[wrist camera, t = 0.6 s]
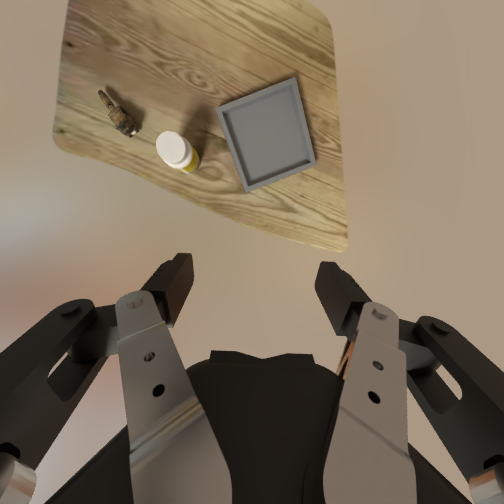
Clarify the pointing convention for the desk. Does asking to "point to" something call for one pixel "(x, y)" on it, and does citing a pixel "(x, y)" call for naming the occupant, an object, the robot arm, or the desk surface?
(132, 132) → the cat figurine
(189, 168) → the supplement bottle
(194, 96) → the desk surface
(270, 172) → the tray
